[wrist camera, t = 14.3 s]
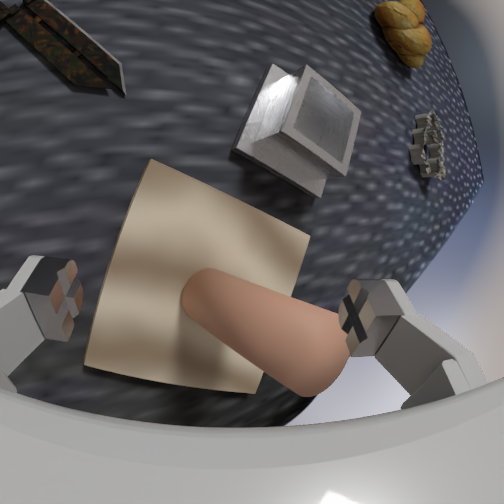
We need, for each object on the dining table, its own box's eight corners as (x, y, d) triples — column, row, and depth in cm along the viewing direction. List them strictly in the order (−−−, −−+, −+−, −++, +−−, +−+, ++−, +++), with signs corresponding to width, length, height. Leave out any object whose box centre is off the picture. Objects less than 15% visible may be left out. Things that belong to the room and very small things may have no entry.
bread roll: (415, 71, 41) (452, 62, 34) (391, 70, 37) (434, 57, 30) (388, 10, 37) (422, -3, 30) (360, 2, 33) (398, -16, 26)
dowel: (221, 327, 25) (332, 395, 15) (174, 315, 22) (277, 397, 12) (239, 277, 25) (362, 321, 15) (193, 260, 22) (313, 306, 13)
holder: (313, 198, 30) (351, 196, 26) (230, 150, 25) (262, 136, 21) (336, 119, 31) (371, 109, 27) (267, 67, 26) (298, 46, 21)
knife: (138, 87, 21) (142, 80, 19) (76, 138, 19) (75, 133, 17) (16, -44, 10) (16, -52, 9) (-36, -9, 8) (-38, -17, 7)
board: (248, 388, 28) (255, 393, 27) (83, 358, 20) (84, 364, 19) (302, 235, 30) (310, 236, 28) (147, 161, 21) (151, 158, 20)
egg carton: (423, 184, 42) (444, 184, 39) (403, 152, 39) (426, 150, 35) (433, 139, 44) (453, 137, 41) (415, 107, 41) (436, 104, 37)
